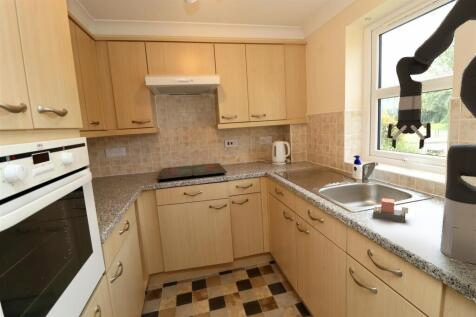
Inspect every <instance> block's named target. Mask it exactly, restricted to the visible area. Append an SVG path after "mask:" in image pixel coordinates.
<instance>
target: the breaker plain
mask: <svg viewBox="0 0 476 317" xmlns="http://www.w3.org/2000/svg"><path fill="white" fill-rule="evenodd" d="M401 211H402V213H405V214H407V215H408V214H409V205H402V206H401Z"/></svg>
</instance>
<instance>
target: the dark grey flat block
mask: <svg viewBox="0 0 476 317" xmlns="http://www.w3.org/2000/svg"><path fill="white" fill-rule="evenodd" d="M372 218H377V219H382V220H383V219H384V220H389V221H395V222H402V223H406V213H402V209H401V210H400V209H394V213H388V212H382V211H381V206H380V207H379V206H374V208H373V211H372Z"/></svg>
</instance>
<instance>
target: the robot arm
mask: <svg viewBox="0 0 476 317" xmlns="http://www.w3.org/2000/svg"><path fill="white" fill-rule="evenodd" d="M469 21H476V0H457V1H456V2H455V4H454V5H453V7H452V8H451V9H450V10H449V11H448V13H447V14H446V16H445V17H444V18H443V20H442V21H441V22H440V23H439V25H438V26H437V28H436V29H435V30H434V31H433V32H432V33H431V34H430V36H428V37H427V39H425V40H424V41H423V42H422V43H421V44H420V45H419V46H418V47H417V48H416V49H415V51H414V55H410V56H403V57H400V58H399V60H398V61H397V63H396V66H395V73H396V76H397V80H398V82H399V88H400V89H399V101H398V109H397V110H398V111H397V123H388V126H387V134H386V136H387V138H388V139H390V140H391V147H392V148H393V149H396V148H397V138H398V137H399V136H400V135H401V134H403V135H408V134H409V135H413V134H416V135H417V137H418V138H419V146H418V149H419V150H422V149H423V148H424V147H425V140H427V139H429V138H431V136H432V131H431V130H432V128H431V127H432V126H431V125H432V123H431V122H422V120H421V118H422V106H423V105H422V104H423V99H422V93H423V92H422V90H423V83H422V81H421V80H416V79H415V80H414V79H413V78H412V77H411V76H418V75H422V74H424V73H425V72H427V71H428V70H429V69H430V68H431V65H432V64H433V63H434V61H435V60H436V59H437V58H439V57H440V56H441V55H442V54H444V52H446V51H447V50H448V49H449V48H450V47H451V45H452V43H453V42H454V38H455V33H456V30H457V29H458V28H459V27H461V26H462V25H464V24H465V23H467V22H469ZM459 98H460V100H461V103H462V104H463V105H464V106H465V107H466V109H467V110H468V111H469V113H471V115H472V116H473V118H475V119H476V53H475V54H474V56H473V57H471V59H470V61H469V62H468V63H467V65H465V67H464V69H463V72H462V74H461V82H460V90H459ZM422 126H423V128H424V129H426V131H425V135H423V134H422V132H420V130H419V129H421V127H422ZM395 127H396V129H398V131H397V132H396V133H395V134H394V135H392V130H394V129H395ZM462 177H469V178H476V143H454V144H451V145H450V146H449V148H448V150H447V156H446V182H445V184H446V185H445V192H444V193H445V195H444V201H443V202H444V203H443V204H444V205H443V215H442V226H441V234H440V236H441V237H440V251H441V253H443V254H444V255H445V256H447V257H448V258H449V259H450V260H454V261H455V260H456V261H460V262H464V263H469V264H473V265H476V185H473V184H471V183H469V182H468V181H466V180H464V178H462Z"/></svg>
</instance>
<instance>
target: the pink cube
mask: <svg viewBox="0 0 476 317" xmlns="http://www.w3.org/2000/svg"><path fill="white" fill-rule="evenodd" d="M380 205H381V206H380V208H381V211H382V212H388V213H394V210H395V199H392V198H384V197H382V198H381V204H380Z"/></svg>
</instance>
